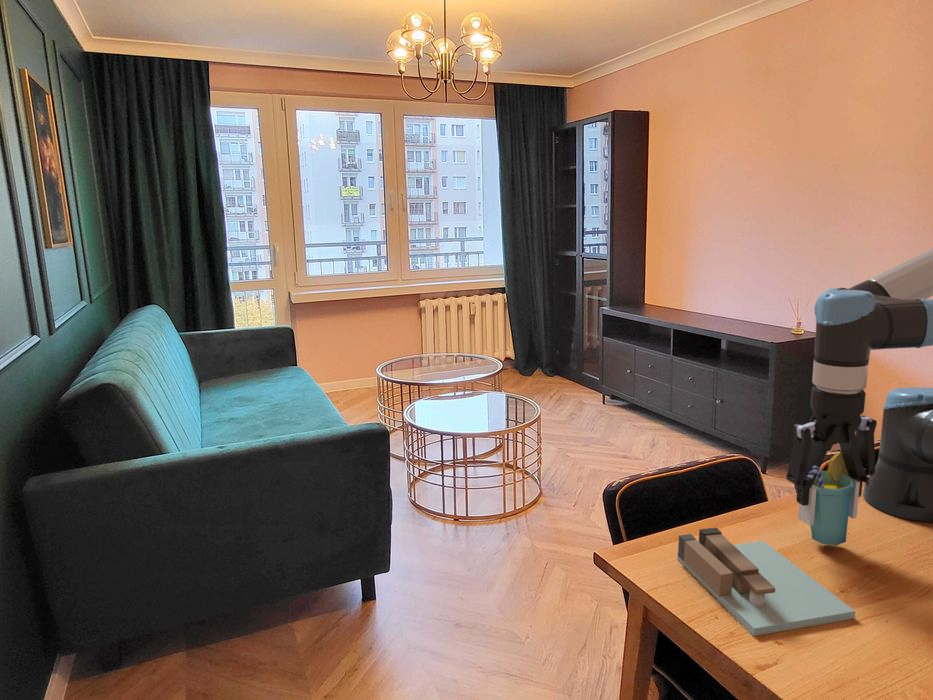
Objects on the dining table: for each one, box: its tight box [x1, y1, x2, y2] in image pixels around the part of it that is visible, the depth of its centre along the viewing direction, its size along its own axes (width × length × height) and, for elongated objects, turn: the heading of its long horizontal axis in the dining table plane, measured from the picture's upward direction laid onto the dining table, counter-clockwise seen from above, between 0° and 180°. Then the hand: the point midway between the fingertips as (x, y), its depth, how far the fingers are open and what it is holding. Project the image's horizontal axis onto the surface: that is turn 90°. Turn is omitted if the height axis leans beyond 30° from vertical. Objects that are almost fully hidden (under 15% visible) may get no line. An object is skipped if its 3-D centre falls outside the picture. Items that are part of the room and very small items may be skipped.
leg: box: [698, 527, 775, 595], centre depth 97 cm, size 16×3×4 cm, turn 8°
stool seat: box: [676, 533, 856, 637], centre depth 96 cm, size 16×20×5 cm
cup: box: [805, 452, 853, 546], centre depth 105 cm, size 14×8×15 cm, turn 132°
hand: (827, 517), depth 106 cm, fingers closed on cup, 7 cm apart
